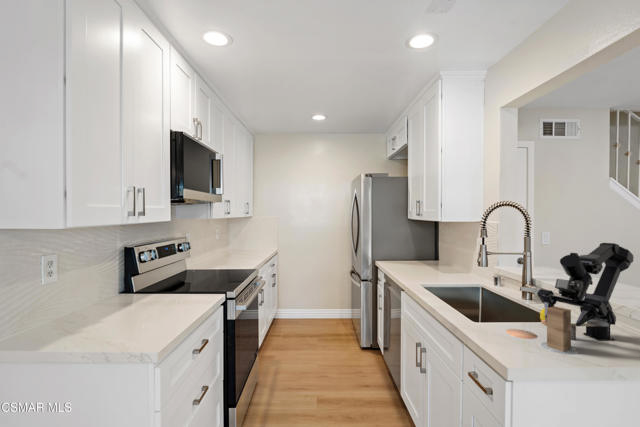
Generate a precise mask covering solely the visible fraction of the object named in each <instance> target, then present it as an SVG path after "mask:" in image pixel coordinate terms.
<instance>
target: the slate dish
mask: <svg viewBox="0 0 640 427" xmlns="http://www.w3.org/2000/svg"><path fill="white" fill-rule="evenodd" d="M540 346H541V347H542V348H543V349H545V350H547V351H550V352H554V353H557V354H561V355H562V354H563V355H577V354H579V350H578V349H576V347H573V346H571V349H570V350H567V351H565V352H562V351H559V350H556V349H553V348H550V347H547V341H543V342H541V343H540Z"/></svg>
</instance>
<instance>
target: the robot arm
mask: <svg viewBox="0 0 640 427" xmlns="http://www.w3.org/2000/svg"><path fill="white" fill-rule="evenodd" d="M633 262H634V254H633V253H632V252H631V251H630V250H629V249H628V248H625V247H622V246H620V245H619V244H618V243H615V242H612V243H611V242H602V243H599V245H598V247H596V248H595V249H594V250H592V251H591V252H590V253H588V254H581V255H579V253H578V252H570V253H569V254H566V255H564V256H562V257H561V258H560V259H559V263H560V265H561V267H562V268H563V270H564V272H565V274H566V275H567V276H568V277H569V278H568V280H567V279H562V278H556V280H555V285H554V288H555V289H557V290H558V294H559V295H557V294H556V295H555V294H554V292H553V291H552V290H550V289H544V288H540V289H538V290H537V293H536V295H537V297H538V299H539V300H540V302H542V303H543V304H544V308H545V318H547V308H549V307H553V306H555V305H556V303H557V302H558V303H563V304H568V305H572V306H576V307H579V309H580V314H579V316H578V318H577V320H576V323H575V324H576V327H581V326H580V325H582V324H584V323H587V321H589V320H600V321H604V322H607V323H609V326H607V327H603V326H585V332H583V333H582V334H583V335H584V336H587V337H589V338H591V339H594V340H598V341H615V338H613V337H611V325H616V322H617V317H616V315H615V313H614V311H613V307H612V305H611V303H610V300H611V299H610V298H611V297H612V294H613V292H614V290H615V287H616V285H617V283H618V280H619V277H620V275H621V273H622V272H623V271H626V270H627V269H629V267H630V266H631V264H632V263H633ZM603 264H605V266H603ZM602 269H603V270H602ZM601 271H602V272H601ZM600 273H601V275H600V277H599V279H598V281H597V283H596V286H595V288H594V291H593V293H588V292H587V291H588V289H589V287H590V285H593V284H594V283H593V277H592V276H591V275H599V274H600Z"/></svg>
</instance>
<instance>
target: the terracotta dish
mask: <svg viewBox="0 0 640 427" xmlns="http://www.w3.org/2000/svg"><path fill="white" fill-rule="evenodd" d="M505 333H506V334H507V335H509V336H511V337H515V338H519V339H525V340H526V339H527V340H534V339H537V338H538V335H537V334H535V333H534V332H532V331H528V330H524V329H517V328H509V329H506V330H505Z"/></svg>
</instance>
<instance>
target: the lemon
mask: <svg viewBox="0 0 640 427" xmlns="http://www.w3.org/2000/svg"><path fill="white" fill-rule="evenodd" d="M539 318H540V321H541V320H545V319H547V318H545V307H544V308H542V309H541V310H540V313H539Z"/></svg>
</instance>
